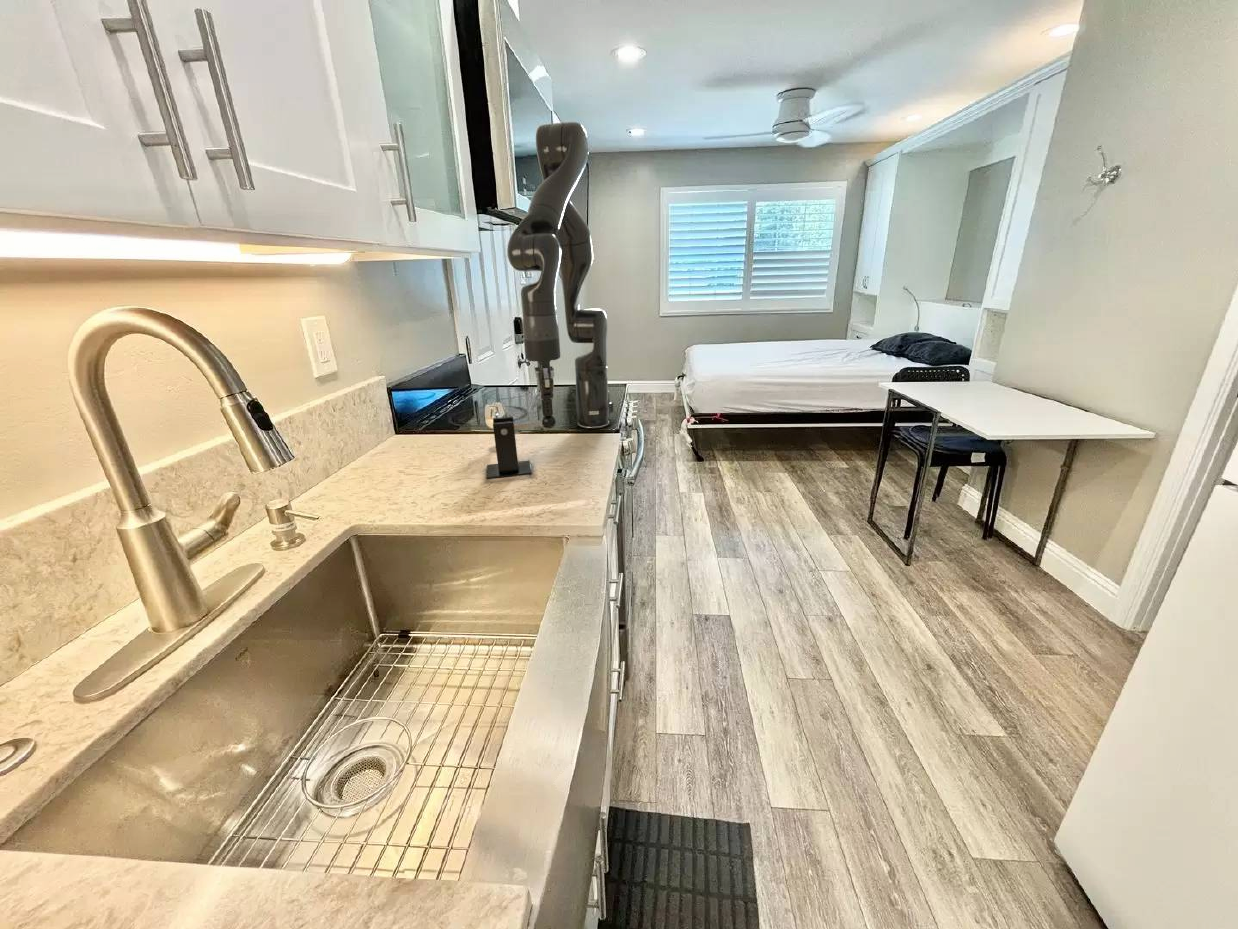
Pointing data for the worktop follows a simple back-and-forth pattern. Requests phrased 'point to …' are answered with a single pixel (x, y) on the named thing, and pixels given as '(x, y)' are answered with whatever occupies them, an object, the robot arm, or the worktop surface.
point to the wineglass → (494, 412)
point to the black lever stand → (506, 452)
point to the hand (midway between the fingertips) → (547, 415)
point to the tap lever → (537, 423)
